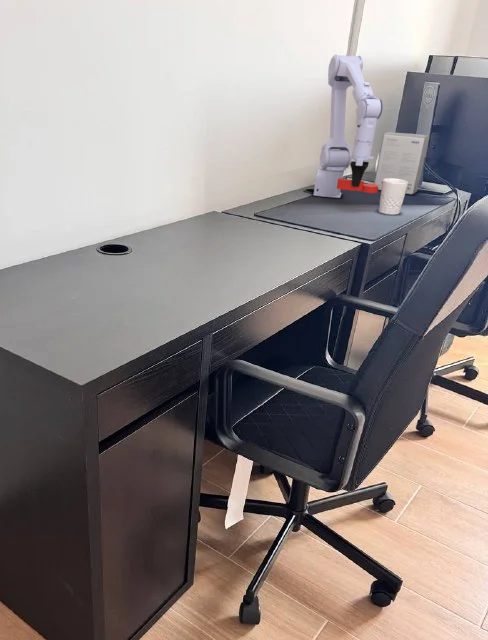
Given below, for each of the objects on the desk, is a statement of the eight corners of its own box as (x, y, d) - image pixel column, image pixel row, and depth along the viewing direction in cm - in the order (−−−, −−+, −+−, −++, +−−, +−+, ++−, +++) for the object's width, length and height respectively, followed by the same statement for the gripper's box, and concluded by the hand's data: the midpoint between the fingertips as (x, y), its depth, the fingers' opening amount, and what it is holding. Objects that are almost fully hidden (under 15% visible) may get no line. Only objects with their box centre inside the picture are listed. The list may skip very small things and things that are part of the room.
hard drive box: (417, 192, 222) (431, 135, 211) (412, 195, 216) (426, 137, 206) (377, 186, 229) (388, 131, 218) (371, 189, 223) (383, 132, 213)
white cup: (388, 216, 187) (395, 184, 182) (371, 210, 193) (377, 179, 188) (406, 214, 190) (413, 182, 185) (389, 208, 196) (395, 177, 191)
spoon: (377, 190, 192) (379, 181, 190) (377, 193, 188) (379, 184, 186) (337, 186, 195) (338, 177, 193) (335, 189, 191) (337, 180, 189)
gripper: (376, 145, 177) (367, 191, 184) (377, 139, 189) (368, 182, 196) (352, 143, 178) (344, 188, 185) (355, 137, 190) (347, 180, 197)
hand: (355, 185), depth 191 cm, fingers closed on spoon, 2 cm apart
